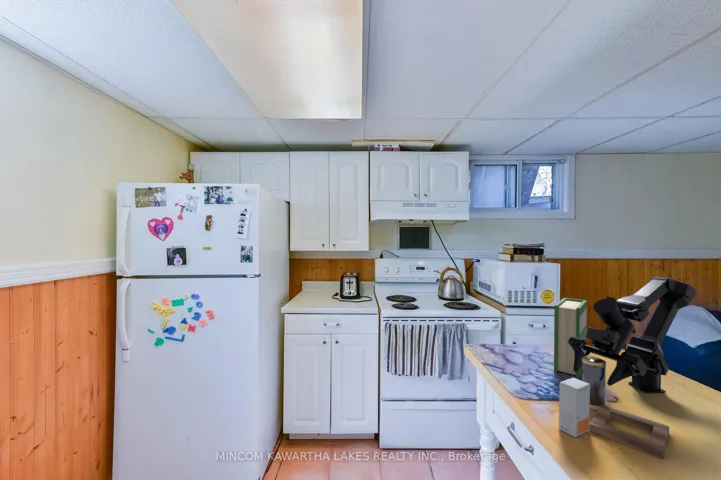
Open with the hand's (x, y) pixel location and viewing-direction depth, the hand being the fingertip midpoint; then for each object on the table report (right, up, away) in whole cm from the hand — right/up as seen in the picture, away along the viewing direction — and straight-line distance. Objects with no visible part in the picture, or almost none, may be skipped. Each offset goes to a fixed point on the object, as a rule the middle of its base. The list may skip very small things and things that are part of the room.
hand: (590, 377), depth 91 cm
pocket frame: (0, -8, -12) cm, 15 cm away
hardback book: (+12, -8, +26) cm, 29 cm away
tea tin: (+1, -7, +1) cm, 7 cm away
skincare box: (-13, -8, -12) cm, 19 cm away
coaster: (+1, -8, +1) cm, 8 cm away
